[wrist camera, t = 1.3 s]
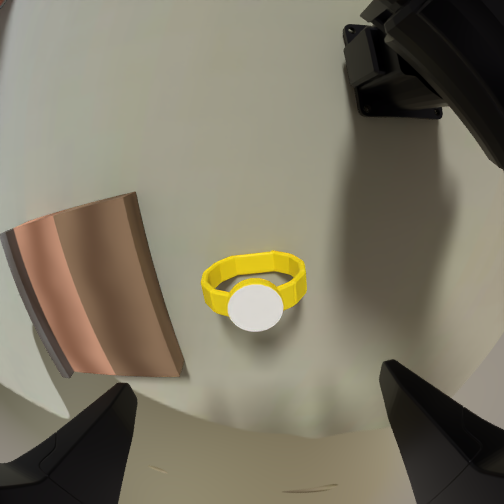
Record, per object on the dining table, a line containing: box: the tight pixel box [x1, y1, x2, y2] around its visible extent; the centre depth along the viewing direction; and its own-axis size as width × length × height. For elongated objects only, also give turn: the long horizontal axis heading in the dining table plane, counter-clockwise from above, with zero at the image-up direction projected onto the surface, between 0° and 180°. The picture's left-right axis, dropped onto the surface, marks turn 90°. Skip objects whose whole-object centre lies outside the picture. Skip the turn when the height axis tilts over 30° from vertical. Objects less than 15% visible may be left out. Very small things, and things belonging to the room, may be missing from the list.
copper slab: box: [0, 192, 184, 378], centre depth 19 cm, size 12×14×3 cm
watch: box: [201, 250, 307, 332], centre depth 17 cm, size 6×3×6 cm, turn 97°
